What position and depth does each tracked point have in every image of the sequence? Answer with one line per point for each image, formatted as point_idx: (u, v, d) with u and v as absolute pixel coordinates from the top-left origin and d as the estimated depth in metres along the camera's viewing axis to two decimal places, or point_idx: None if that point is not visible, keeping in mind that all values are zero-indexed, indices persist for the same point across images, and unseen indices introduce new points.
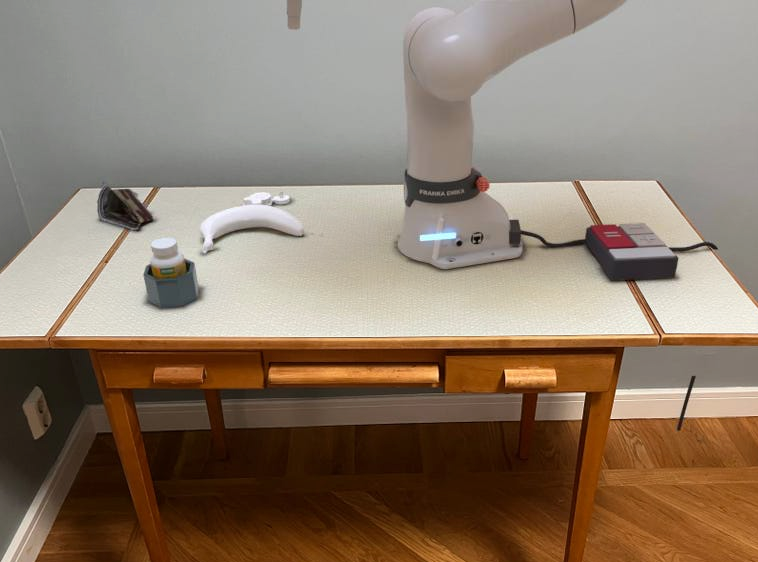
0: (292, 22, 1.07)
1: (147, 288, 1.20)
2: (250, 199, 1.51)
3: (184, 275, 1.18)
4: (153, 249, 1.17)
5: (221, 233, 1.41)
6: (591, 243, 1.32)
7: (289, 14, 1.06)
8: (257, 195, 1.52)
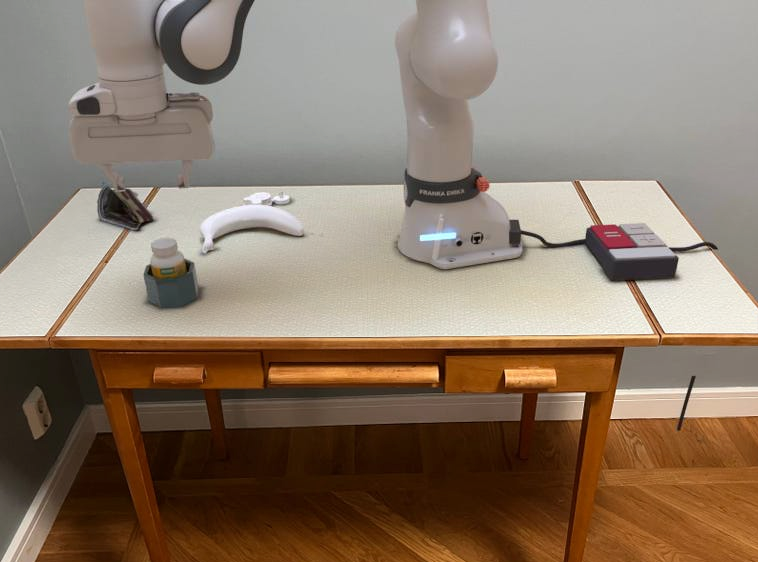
0: (187, 181, 1.12)
1: (147, 288, 1.20)
2: (250, 199, 1.51)
3: (184, 275, 1.18)
4: (153, 249, 1.17)
5: (221, 233, 1.41)
6: (592, 244, 1.32)
7: None
8: (257, 195, 1.52)
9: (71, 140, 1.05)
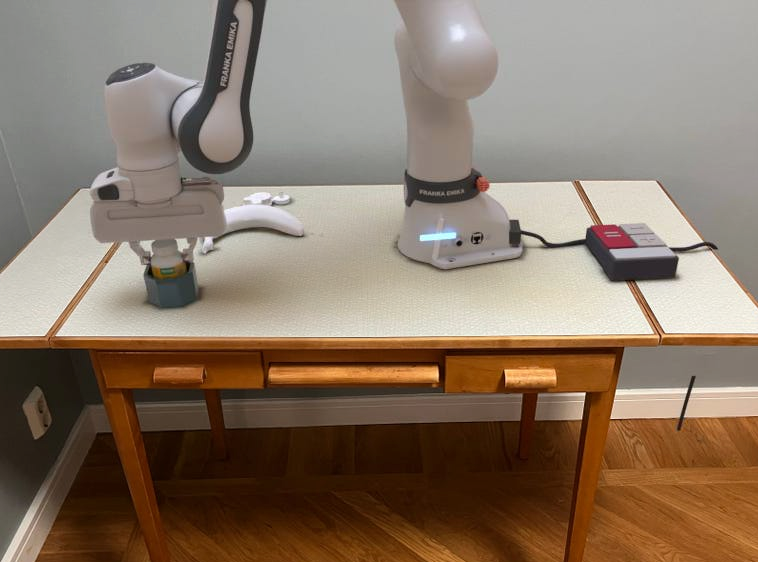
0: (192, 256, 1.19)
1: (147, 288, 1.20)
2: (250, 199, 1.51)
3: (184, 275, 1.18)
4: (153, 249, 1.17)
5: None
6: (592, 244, 1.32)
7: (192, 251, 1.18)
8: (257, 195, 1.52)
9: (92, 222, 1.12)
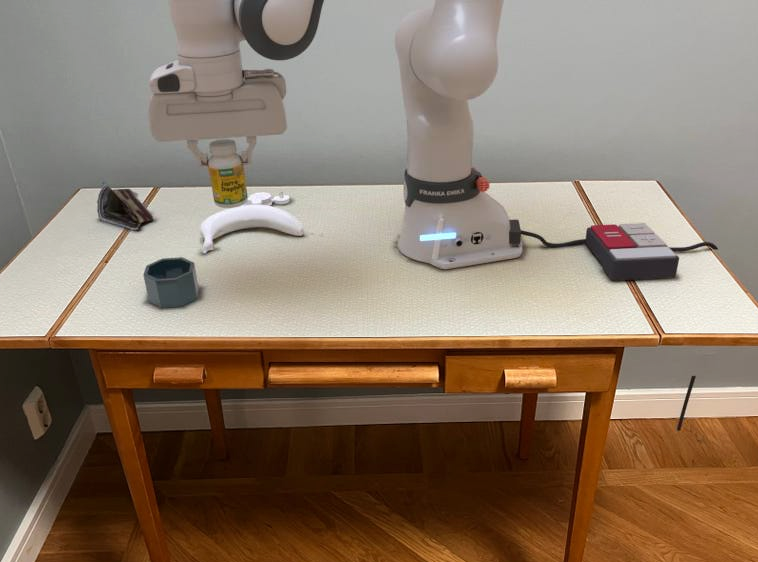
0: (251, 158, 1.15)
1: (147, 288, 1.20)
2: (250, 199, 1.51)
3: (184, 275, 1.18)
4: (212, 149, 1.12)
5: (221, 233, 1.41)
6: (592, 244, 1.32)
7: None
8: (257, 195, 1.52)
9: (150, 117, 1.08)
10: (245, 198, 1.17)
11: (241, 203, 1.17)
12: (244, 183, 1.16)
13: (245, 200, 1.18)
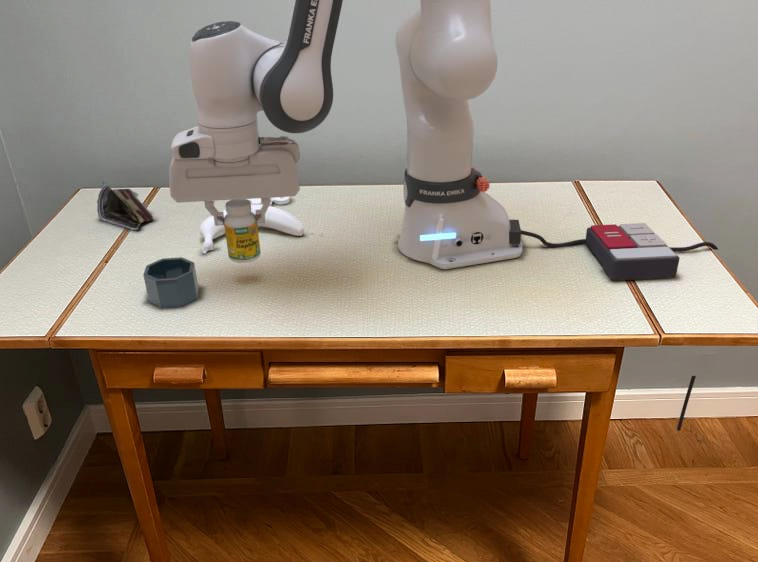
0: None
1: (147, 288, 1.20)
2: (250, 199, 1.51)
3: (184, 275, 1.18)
4: (228, 209, 1.18)
5: (221, 233, 1.41)
6: (592, 244, 1.32)
7: None
8: None
9: (170, 180, 1.14)
10: (258, 253, 1.24)
11: (254, 258, 1.23)
12: (257, 240, 1.22)
13: (258, 255, 1.24)
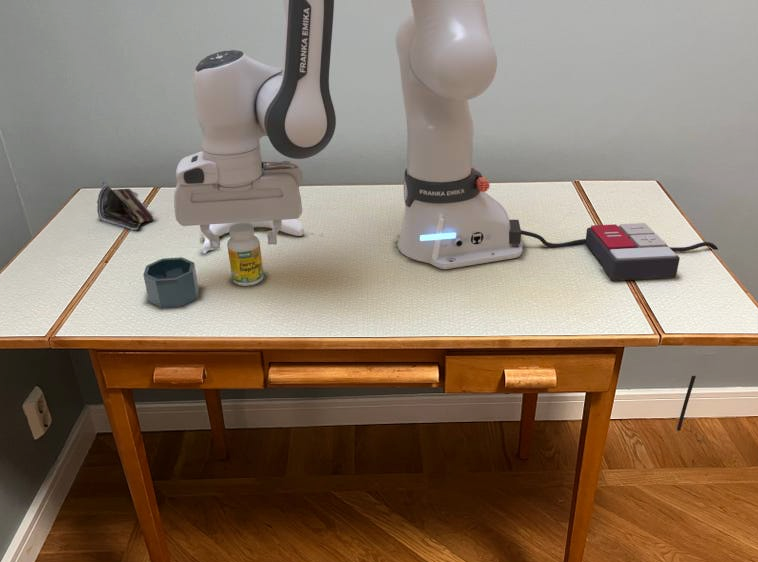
0: (276, 238, 1.23)
1: (147, 288, 1.20)
2: None
3: (184, 275, 1.18)
4: (231, 233, 1.21)
5: (221, 233, 1.41)
6: (592, 244, 1.32)
7: (277, 233, 1.22)
8: None
9: (175, 205, 1.16)
10: (261, 276, 1.26)
11: (257, 281, 1.25)
12: (260, 263, 1.25)
13: (261, 278, 1.26)
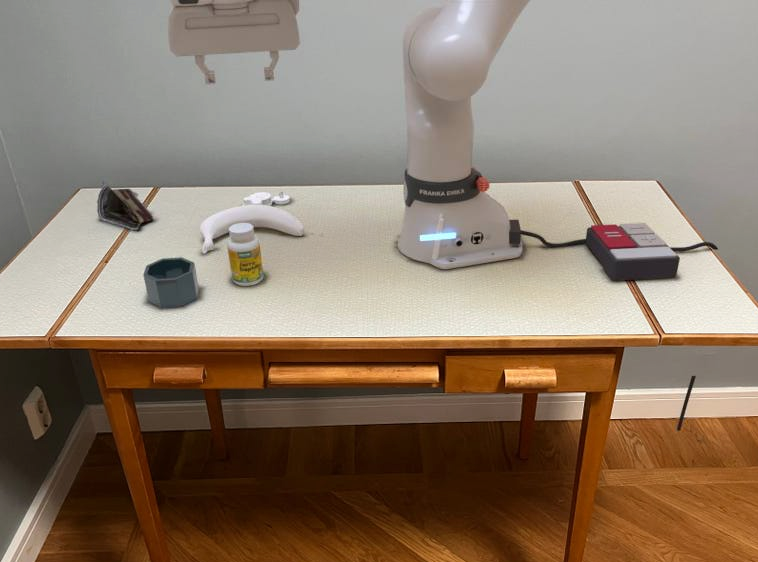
0: (273, 73, 1.20)
1: (147, 288, 1.20)
2: (250, 199, 1.51)
3: (184, 275, 1.18)
4: (231, 233, 1.21)
5: (221, 233, 1.41)
6: (592, 244, 1.32)
7: (274, 67, 1.19)
8: (257, 195, 1.52)
9: (169, 31, 1.13)
10: (261, 276, 1.26)
11: (257, 281, 1.25)
12: (260, 263, 1.25)
13: (261, 278, 1.26)
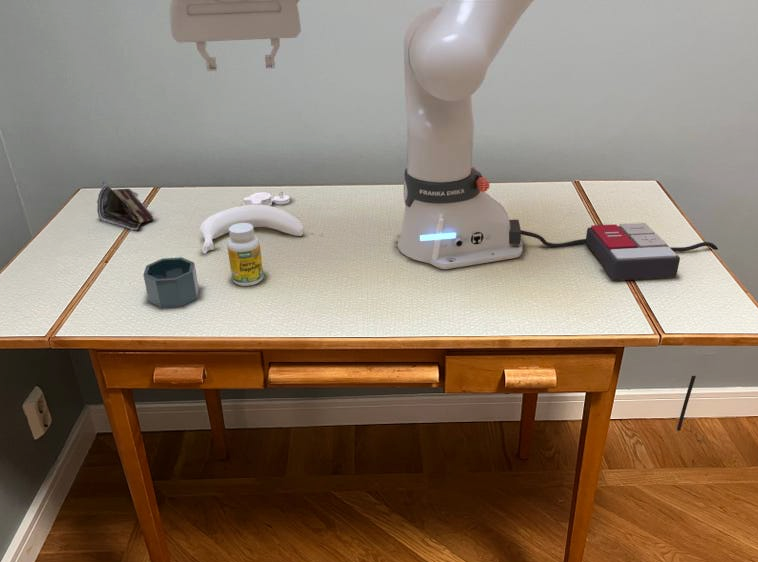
0: (274, 61, 1.21)
1: (147, 288, 1.20)
2: (250, 199, 1.51)
3: (184, 275, 1.18)
4: (231, 233, 1.21)
5: (221, 233, 1.41)
6: (592, 244, 1.32)
7: None
8: (257, 195, 1.52)
9: (171, 17, 1.14)
10: (261, 276, 1.26)
11: (257, 281, 1.25)
12: (260, 263, 1.25)
13: (261, 278, 1.26)
